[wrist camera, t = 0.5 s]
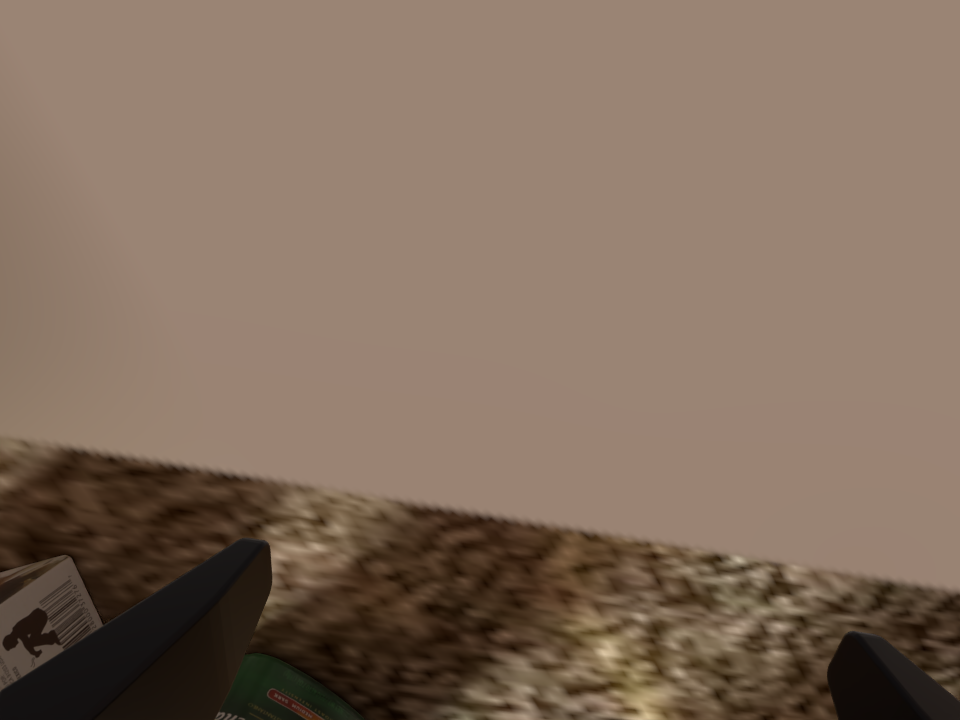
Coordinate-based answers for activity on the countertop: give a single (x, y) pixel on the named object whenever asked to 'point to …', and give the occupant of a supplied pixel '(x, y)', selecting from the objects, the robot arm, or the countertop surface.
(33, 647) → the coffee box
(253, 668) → the coffee jar
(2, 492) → the countertop surface
